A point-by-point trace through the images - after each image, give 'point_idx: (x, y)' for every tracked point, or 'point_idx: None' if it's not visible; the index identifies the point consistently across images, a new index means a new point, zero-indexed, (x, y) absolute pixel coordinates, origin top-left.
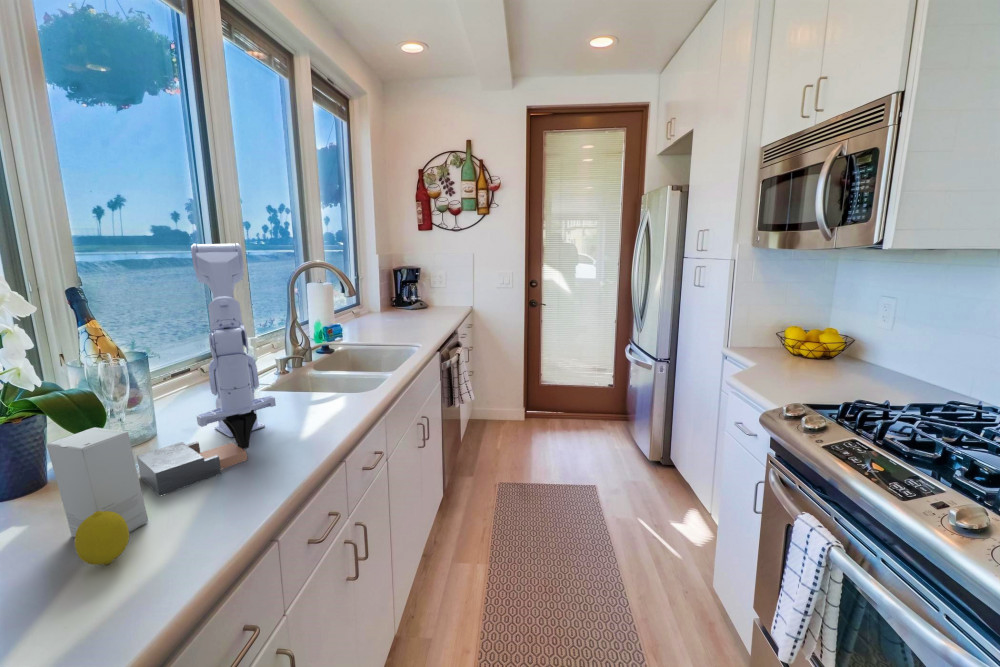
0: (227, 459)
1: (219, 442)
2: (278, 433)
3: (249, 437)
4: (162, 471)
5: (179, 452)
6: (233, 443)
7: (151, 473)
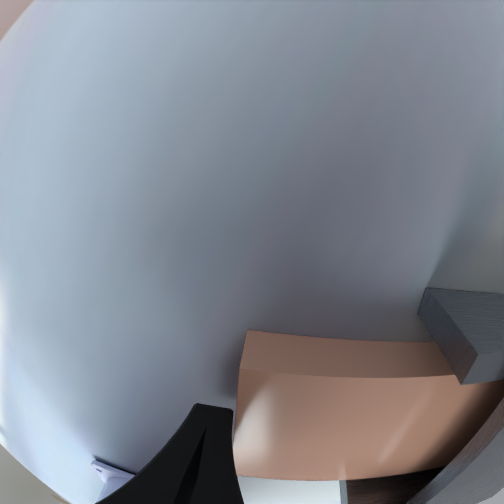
0: (360, 369)
1: None
2: (63, 404)
3: (168, 444)
4: None
5: (480, 476)
6: None
7: None
